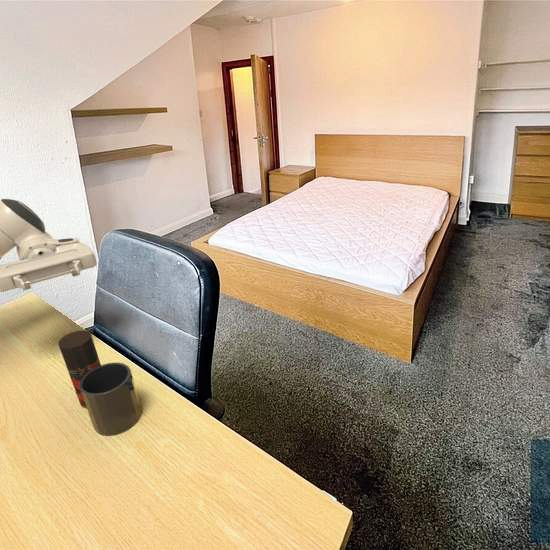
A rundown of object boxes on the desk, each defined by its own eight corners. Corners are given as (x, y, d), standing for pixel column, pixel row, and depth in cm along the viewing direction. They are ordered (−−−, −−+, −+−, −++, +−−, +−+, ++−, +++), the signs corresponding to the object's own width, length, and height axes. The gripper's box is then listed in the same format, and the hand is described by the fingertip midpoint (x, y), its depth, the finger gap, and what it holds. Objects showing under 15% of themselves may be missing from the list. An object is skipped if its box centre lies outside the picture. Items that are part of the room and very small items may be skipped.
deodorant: (75, 398, 86) (54, 339, 80) (103, 384, 90) (85, 326, 83) (85, 412, 82) (63, 352, 76) (114, 397, 86) (95, 338, 79)
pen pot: (83, 428, 78) (68, 388, 74) (117, 396, 86) (105, 358, 81) (118, 441, 75) (105, 400, 71) (151, 407, 82) (140, 368, 78)
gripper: (-15, 259, 89) (-13, 280, 78) (84, 235, 99) (98, 252, 88) (-5, 284, 91) (-1, 309, 81) (90, 259, 101) (105, 278, 91)
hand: (51, 279), depth 85 cm, fingers open, 8 cm apart
